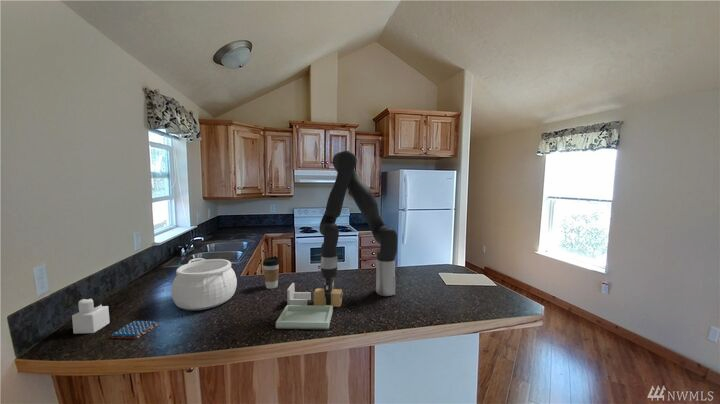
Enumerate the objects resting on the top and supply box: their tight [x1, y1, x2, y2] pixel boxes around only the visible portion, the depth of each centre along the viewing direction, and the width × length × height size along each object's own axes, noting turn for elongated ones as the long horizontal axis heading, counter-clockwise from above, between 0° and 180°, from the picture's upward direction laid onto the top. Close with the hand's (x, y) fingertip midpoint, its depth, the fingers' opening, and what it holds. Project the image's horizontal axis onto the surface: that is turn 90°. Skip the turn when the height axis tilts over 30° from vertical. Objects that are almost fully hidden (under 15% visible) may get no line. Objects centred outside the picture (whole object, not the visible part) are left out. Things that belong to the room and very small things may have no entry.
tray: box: [275, 304, 334, 330], centre depth 108 cm, size 20×14×2 cm
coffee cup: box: [262, 256, 280, 290], centre depth 142 cm, size 8×8×15 cm
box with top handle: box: [313, 288, 344, 308], centre depth 122 cm, size 13×5×6 cm, turn 85°
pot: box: [170, 257, 238, 311], centre depth 125 cm, size 29×26×17 cm
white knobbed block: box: [71, 295, 110, 335], centre depth 101 cm, size 7×7×12 cm
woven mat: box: [110, 319, 159, 340], centre depth 100 cm, size 10×11×2 cm
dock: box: [286, 282, 312, 305], centre depth 122 cm, size 9×8×8 cm
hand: (329, 301), depth 122 cm, fingers closed on box with top handle, 5 cm apart
